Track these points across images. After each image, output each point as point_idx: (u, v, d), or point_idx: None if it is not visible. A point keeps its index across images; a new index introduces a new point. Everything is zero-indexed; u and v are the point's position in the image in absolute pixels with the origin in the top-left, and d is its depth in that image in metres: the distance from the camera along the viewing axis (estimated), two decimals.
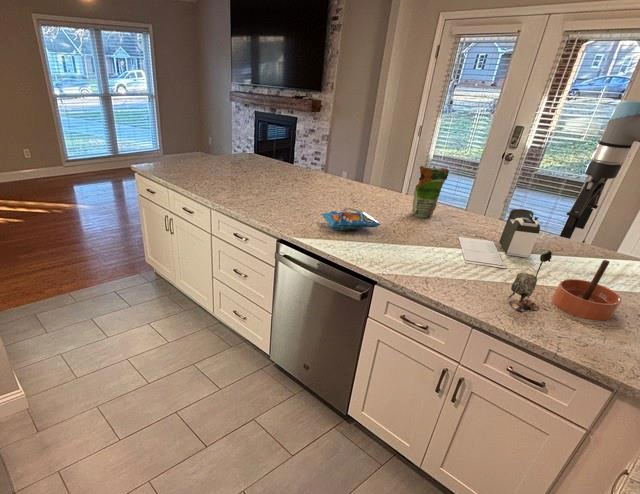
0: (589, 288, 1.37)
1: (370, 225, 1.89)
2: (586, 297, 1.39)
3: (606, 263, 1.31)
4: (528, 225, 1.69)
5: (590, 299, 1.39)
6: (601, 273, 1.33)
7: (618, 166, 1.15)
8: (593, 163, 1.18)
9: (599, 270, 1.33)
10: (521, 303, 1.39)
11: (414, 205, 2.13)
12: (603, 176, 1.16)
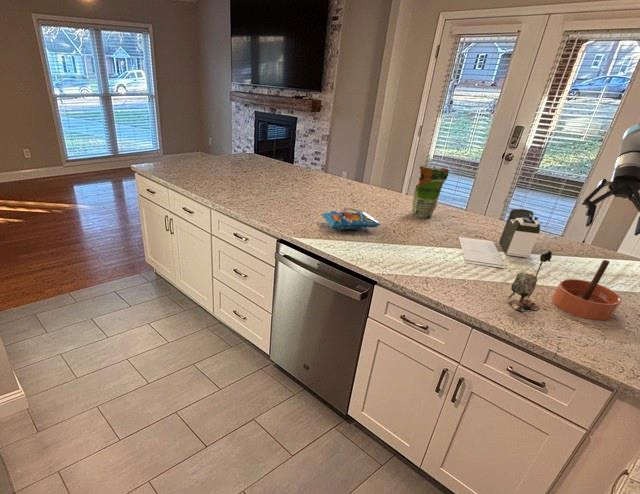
0: (589, 288, 1.37)
1: (370, 225, 1.89)
2: (586, 297, 1.39)
3: (606, 263, 1.31)
4: (528, 225, 1.69)
5: (590, 299, 1.39)
6: (601, 273, 1.33)
7: (630, 166, 1.34)
8: None
9: (599, 270, 1.33)
10: (521, 303, 1.39)
11: (414, 205, 2.13)
12: (616, 175, 1.36)
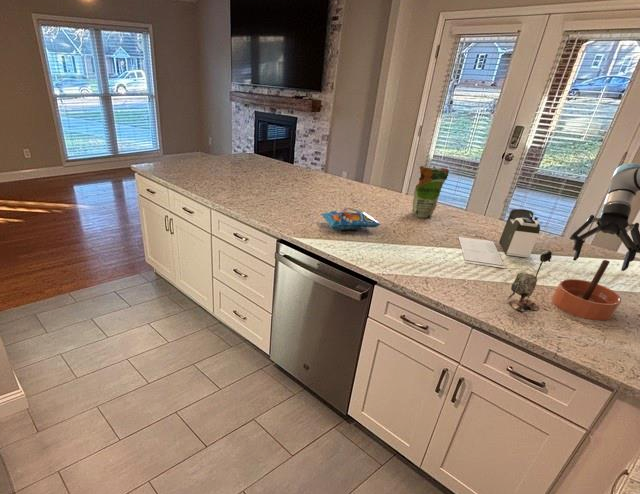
0: (589, 288, 1.37)
1: (370, 225, 1.89)
2: (586, 297, 1.39)
3: (606, 263, 1.31)
4: (528, 225, 1.69)
5: (590, 299, 1.39)
6: (601, 273, 1.33)
7: (617, 203, 1.38)
8: None
9: (599, 270, 1.33)
10: (521, 303, 1.39)
11: (414, 205, 2.13)
12: (604, 212, 1.40)
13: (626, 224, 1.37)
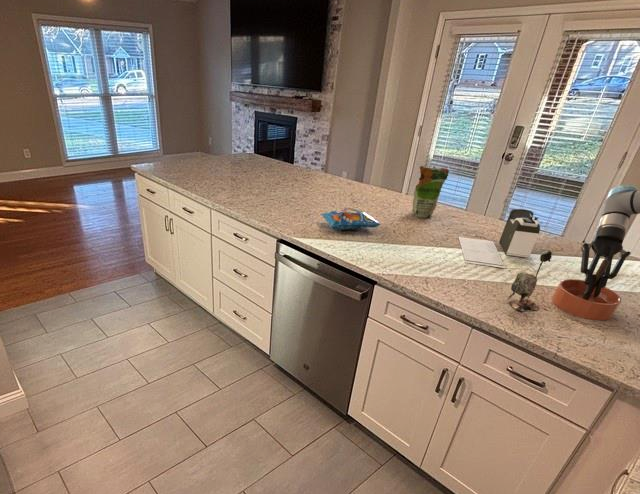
0: None
1: (370, 225, 1.89)
2: (586, 297, 1.39)
3: (606, 263, 1.31)
4: (528, 225, 1.69)
5: (590, 299, 1.39)
6: (601, 273, 1.33)
7: (611, 226, 1.35)
8: None
9: (599, 270, 1.33)
10: (521, 303, 1.39)
11: (414, 205, 2.13)
12: (598, 235, 1.37)
13: (619, 248, 1.35)
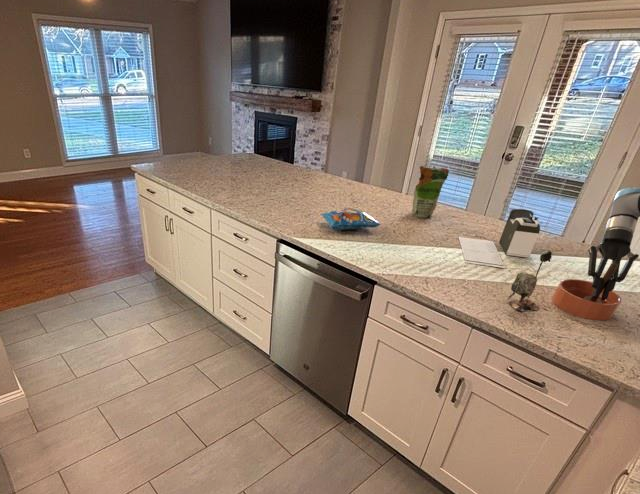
0: None
1: (370, 225, 1.89)
2: (593, 299, 1.38)
3: (614, 266, 1.30)
4: (528, 225, 1.69)
5: (598, 300, 1.38)
6: (609, 276, 1.32)
7: (618, 229, 1.34)
8: None
9: (607, 273, 1.32)
10: (521, 303, 1.39)
11: (414, 205, 2.13)
12: (605, 237, 1.36)
13: (627, 251, 1.33)
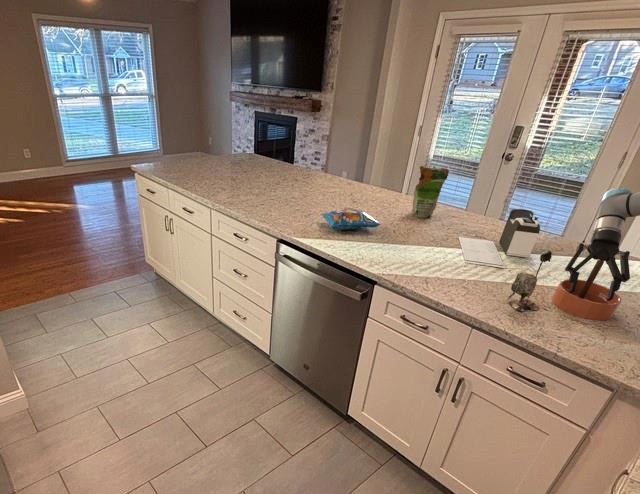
0: (583, 288, 1.37)
1: (370, 225, 1.89)
2: (580, 297, 1.38)
3: (600, 263, 1.31)
4: (528, 225, 1.69)
5: (585, 299, 1.39)
6: (595, 273, 1.33)
7: (606, 229, 1.34)
8: None
9: (593, 270, 1.33)
10: (521, 303, 1.39)
11: (414, 205, 2.13)
12: (594, 238, 1.36)
13: (617, 251, 1.33)
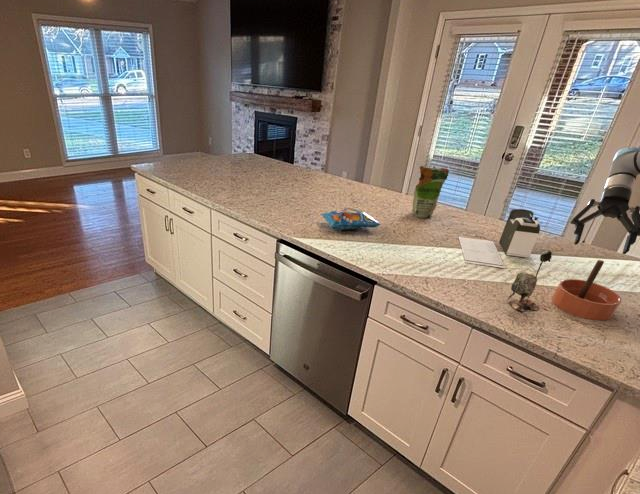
0: (583, 288, 1.37)
1: (370, 225, 1.89)
2: (580, 297, 1.38)
3: (600, 263, 1.31)
4: (528, 225, 1.69)
5: (585, 299, 1.39)
6: (595, 273, 1.33)
7: (617, 187, 1.38)
8: None
9: (593, 270, 1.33)
10: (521, 303, 1.39)
11: (414, 205, 2.13)
12: (604, 196, 1.40)
13: (627, 207, 1.37)
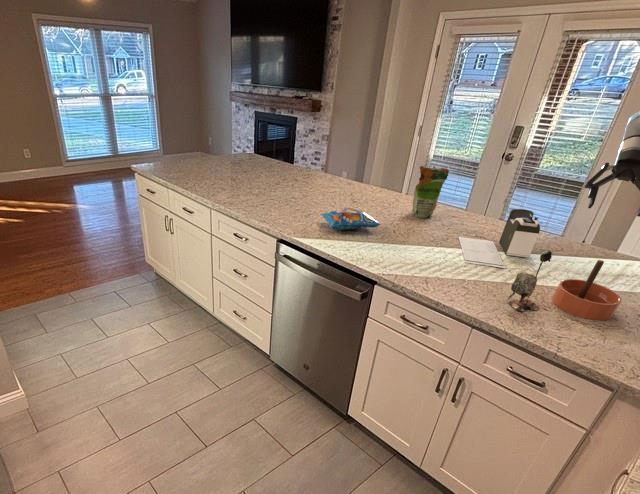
0: (583, 288, 1.37)
1: (370, 225, 1.89)
2: (580, 297, 1.38)
3: (600, 263, 1.31)
4: (528, 225, 1.69)
5: (585, 299, 1.39)
6: (595, 273, 1.33)
7: (632, 149, 1.37)
8: None
9: (593, 270, 1.33)
10: (521, 303, 1.39)
11: (414, 205, 2.13)
12: (619, 159, 1.39)
13: None
